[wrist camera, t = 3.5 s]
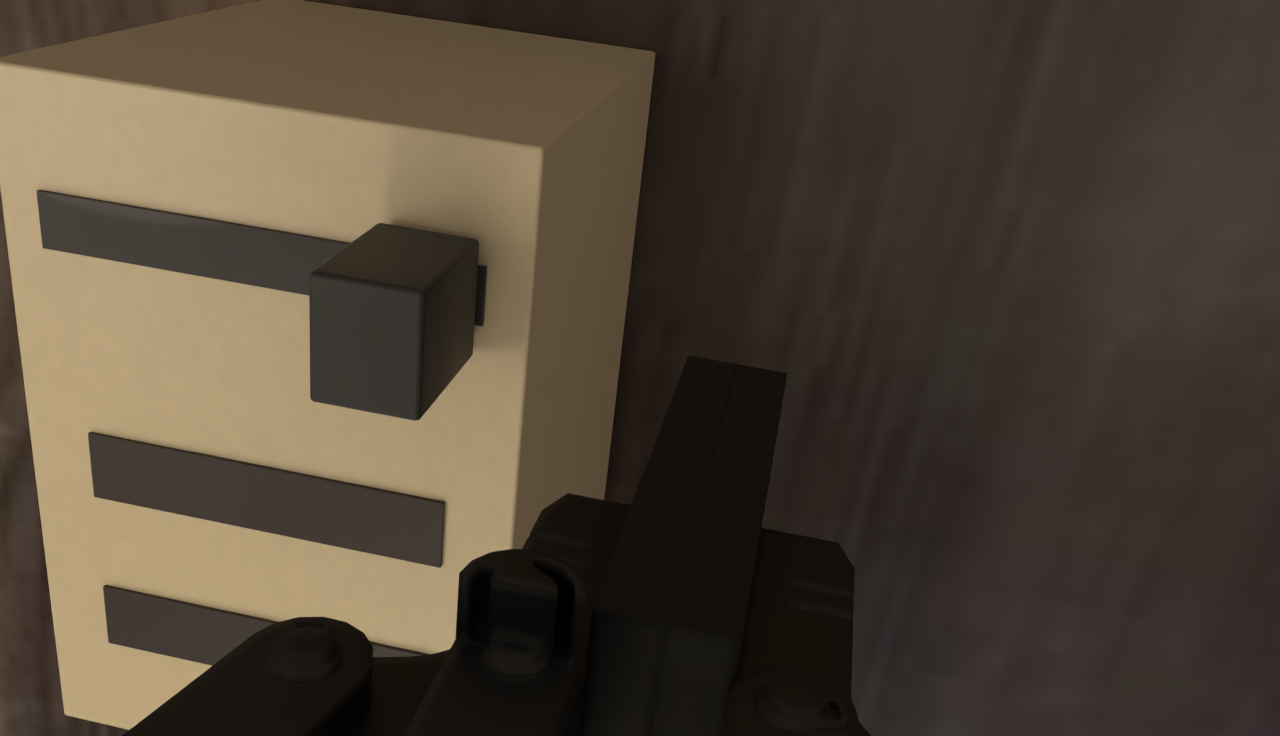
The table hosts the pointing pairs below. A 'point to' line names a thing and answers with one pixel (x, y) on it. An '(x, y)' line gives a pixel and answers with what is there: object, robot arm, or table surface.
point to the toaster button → (392, 320)
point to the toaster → (300, 320)
